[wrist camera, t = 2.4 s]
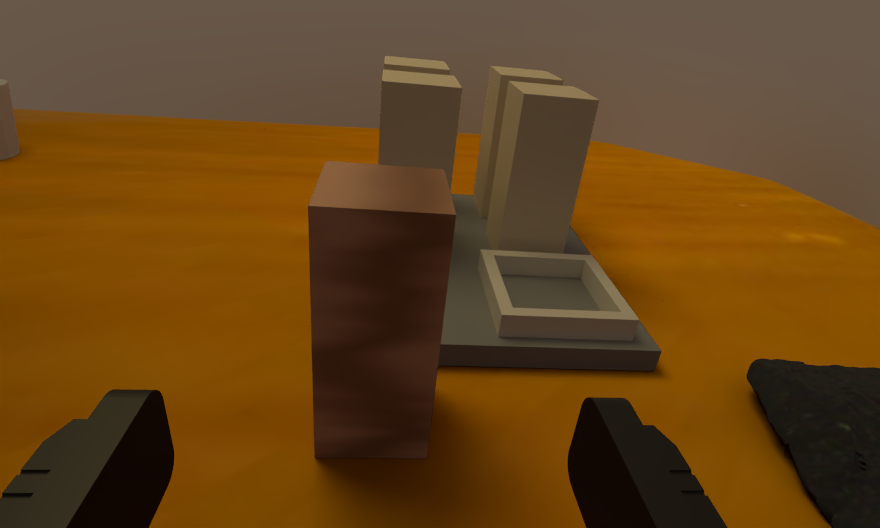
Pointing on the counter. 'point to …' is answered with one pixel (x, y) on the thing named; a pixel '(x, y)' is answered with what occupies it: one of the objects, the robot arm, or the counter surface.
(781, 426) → the dark slate chunk
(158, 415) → the robot arm
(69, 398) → the counter surface
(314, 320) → the terracotta pillar
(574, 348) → the pillar board
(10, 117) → the beige piece
